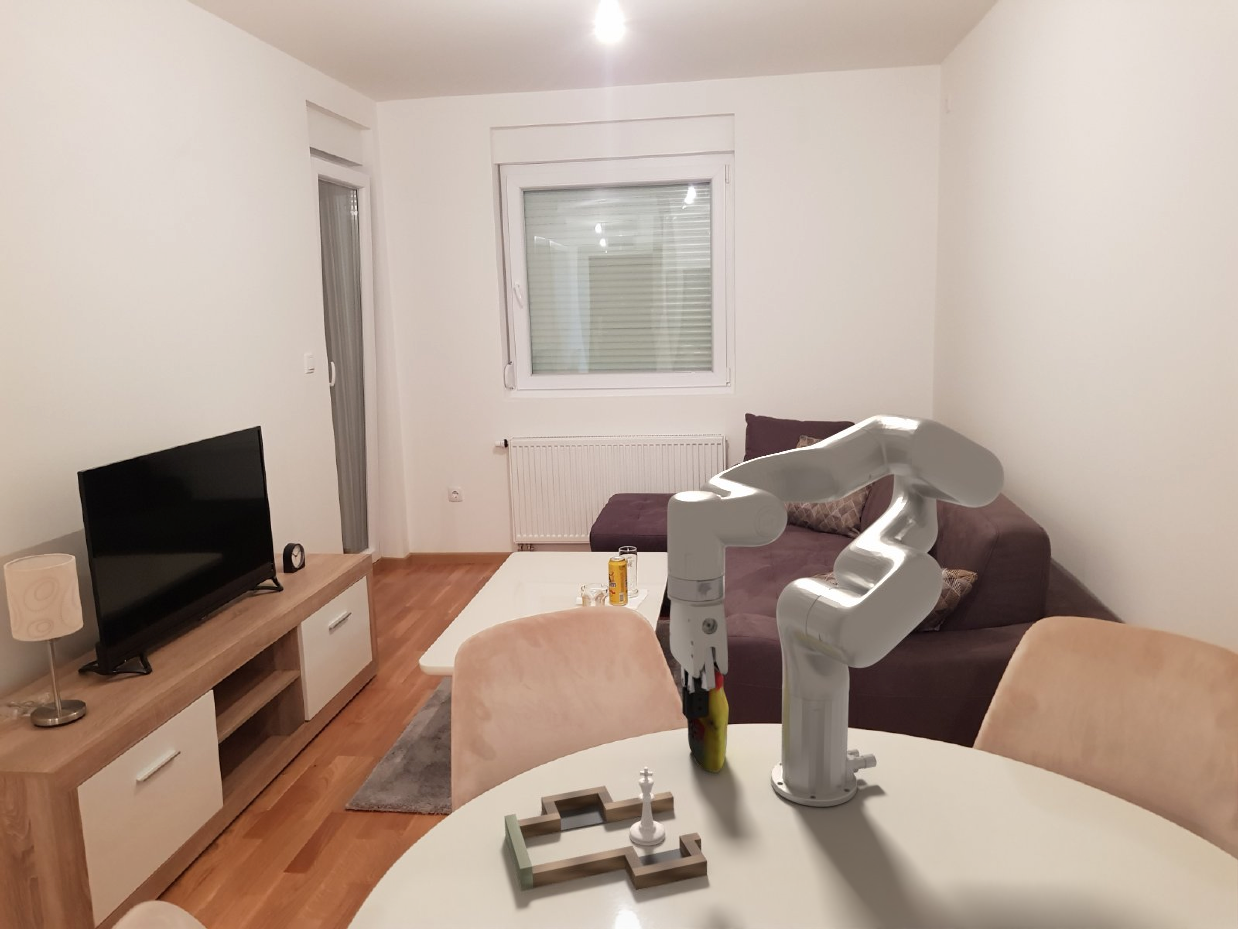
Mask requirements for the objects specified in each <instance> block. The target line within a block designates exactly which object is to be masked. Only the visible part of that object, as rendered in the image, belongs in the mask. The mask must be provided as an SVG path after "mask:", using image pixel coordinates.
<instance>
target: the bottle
mask: <svg viewBox="0 0 1238 929" xmlns="http://www.w3.org/2000/svg"><path fill="white" fill-rule="evenodd" d="M714 676H715V688H712V689H710V690H709V715H708V716H707V717H703V718H696V719H690V720H688V719H687V718H686V722H687V740H688V746H689V750H690V752H691V754H692V757H693V759H694V761H695V762H696V763H697V765H698V766H700V767H701V768H702V769H703V770H706V771H708V772H719V771H721V769H722V768H723V765H724V763H725V759H726V752H727V744H728V742H727V741H728V726H729V724H728V722H729V704H728V700H727V696H726V693H725V691H724V690H725V689H724V675H722V674H720V673H719V672H718V671H717V670H716V669H715V668H714Z"/></svg>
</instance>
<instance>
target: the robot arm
mask: <svg viewBox="0 0 1238 929" xmlns="http://www.w3.org/2000/svg"><path fill="white" fill-rule="evenodd" d="M890 475H893V491H892V496H891V501H890V504H889V506H888V508H886V510H885V511H884V513H883V514H881V515H880V517H879V518H877V519H876V520H875V521H874V522H872V524H870V525H869V527H867V528H866V529H865V530H864V531H863V532H862V533H860V534H859V535H858V536H857V537H856V538H855V539H853V541H851V542H850V543H849V544H848V545H847V546H845V548H843V550H842V551H841V552H840V553H839V555H838V556H837V558H836V560H835V561H834V564H833V576H834V579H835V581H836V583H837V584H838V585H836V584H835V583H831V582H829V581H827V580H824V579H820V578H816V577H800V578H797V579H795V580H793V581H791V582H789V583H788V584H787V585H785V587H784V588H783V590H782V591H781V593H780V595H779V597H778V599H777V604H776V613H775V614H776V615H775V616H776V624H777V630H778V636H779V642H780V647H781V658H782V659H781V660H782V683H781V684H782V685H781V690H782V692H781V695H782V697H781V761H779V762H778V763H777V764H775V765H774V767H772V769H771V771H770V772H771V773H770V784H771V786H772V788H773V789H774V791H775V792H776V793H778V794H779V796H781V797H782V798H784V799H787V800H788V801H790V802H793V803H796V804H800V805H803V806H808V807H818V808H819V807H820V808H821V807H824V808H826V807H834V806H839V805H841V804H844V803H847V802H848V801H850V800H852V798H853V797H854V796H855V795H856V794H857V790H858V779H857V777H856V774H855V773H858V772H859V771H860V770H861V769H862V770H863V769H865V770H866V769H870V768H871V769H872V768H875V767H877V763H878V762H877V759H876V756H875V755H874V753H868V754H862V755H860V753H859V750H858V749H857V748H855V749H854V748H853V749H849V750H848V739H849V738H848V737H849V736H848V735H849V734H848V733H849V731H848V730H849V693H850V692H849V691H850V671H849V670H850V669H849V667H851V668H857V669H861V668H862V669H863V668H867V667H870V666H873V665H874V664H876V663H877V662H879V661H880V660H881V659H883V658H884V657H885V656H887V654H889V653H890V652H891V651H892V650H893V649H894V648H895V647H896V646H897V645H898V644H899V643H900V642H902V640H903V639H905V637H907V636H908V635H909V634H910V633H911V632H913V630H914V629H915V628H917V626H919V625H920V623H922V622H923V621H924V619H926V617H927V616H929V615H930V613H931V612H932V610H934V609H935V606H936V605H937V603H938V601H939V599H940V597H941V594H942V591H943V586H944V575H943V571H942V568H941V565H940V564H939V563H938V561H937V560H936V559H935V558H934V557H933V556H931V555H930V554H929V553H928V552H929V551H931V549H932V547H933V546H934V545H935V543H936V541H937V537H938V533H939V531H938V530H939V525H938V515H937V514H938V512H937V500H938V501H943V502H947V503H951V504H955V505H959V506H963V507H966V508H980V507H985V506H987V505H989V504H991V503H992V502H993V501H995V500H996V499H997V498H998V496H999V495H1000V494H1001V492H1002V490H1003V486H1004V483H1005V482H1004V481H1005V471H1004V467H1003V465H1002V463H1001V460H1000V459H999V458H998V457H997V455H995V453H993V452H992V451H991V450H989V449H987V448H986V447H984V446H983V445H982V444H979V443H977V442H976V441H974V440H972V439H970V438H968V437H967V436H965V435H963V434H961V433H960V432H958V431H956V430H954V429H953V428H951V427H950V426H947V425H945V424H943V423H941V422H938V421H937V420H933V419H928V418H924V417H923V418H922V417H916V416H908V415H902V414H895V413H880V414H877V415H873V416H871V417H868V418H866V419H864V420H862V421H860V422H858V423H856V424H854V425H852V426H850V427H847V428H846V429H843V430H842V431H839V432H838V433H836V434H833V435H831V436H829V437H827V438H824V439H823V440H820V441H819V442H817V443H814V444H812V445H809V446H805V447H800V448H794V449H790V450H786V451H782V452H779V453H774V454H769V455H766V456H761V457H757V458H754V459H750V460H748V461H744V462H742V463H740V464H738V465H735V466H732V467H730V468H729V469H726V470H725V471H722V472H720V473H719V474H716V475H714V476H713V477H711V478H709V480H707V481H706V482H705V483H704V484H703V485H702V486H701V487H700V488H699V490H686V491H682V492H677V493H676V494H673V495H672V496H671V497H670V498H669V500H668V503H667V513H666V514H667V515H666V516H667V517H666V519H667V522H666V523H667V524H666V525H667V527H666V528H667V533H666V536H667V538H666V539H667V542H666V543H667V551H666V552H667V554H666V556H667V598H668V599H669V600H670V609H669V610H670V612H669V650H670V652H671V656H673V657H674V659H675V660H676V661H677V662H678V663H679V665H680V676H681V678H680V679H681V685H682V693H681V696H682V701H681V702H682V703H681V704H682V712H681V713H682V714H683V716H684V717H685V718H686V720H687V719H688V720H690V719H696V718H703V717H707V716H708V715H709V690H710V689H712V688H715V676H714V668H715V669H716V670H717V671H718V672H719V673H720V674H722V675H723V676H724V675H726V674H727V673H728V670H729V668H728V667H729V662H728V660H729V658H728V656H729V653H728V634H727V633H728V632H727V631H728V630H727V619H726V612H725V606H724V602H723V601H724V600H725V596H726V593H725V592H726V590H725V589H726V585H725V584H726V583H725V582H726V548H728V547H749V548H750V547H761V546H762V547H763V546H765V545H769V544H771V543H773V542H775V541H776V540H777V539H778V538H780V537H781V535H782V534H783V533H784V531H785V529H786V526H787V523H788V511H787V508H786V507H785V505H784V504H787V503H788V504H789V503H797V504H798V503H805V504H818V503H819V504H820V503H829V502H837V501H839V500H841V499H844V498H846V497H848V496H849V495H851V494H853V493H855V492H857V491H858V490H861V489H862V488H864V487H867V486H868V485H870V484H872V483H874V482H876V481H878V480H880V479H883V478H884V477H887V476H890Z"/></svg>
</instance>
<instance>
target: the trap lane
mask: <svg viewBox="0 0 1238 929" xmlns="http://www.w3.org/2000/svg"><path fill="white" fill-rule="evenodd" d="M653 795H654V800H653V801H652V802H650V804H651V811H652V815H653V814H654V815H655V814H659V813H664V812H669V811H674V810H675V801H674V800H675V797H674V795H673V794H672V792H671V791H666V792H661V793H654V794H653ZM540 801H541V812H542V815H538V816H533V817H526V818H522V819H518V818H517V815H516V814H515V813H513V814H507V815H504V828H505V829H504V832H505V839H506V842H507V845H508V849H509V853H510V857H511V860H512V862H513V866H514V867H513V868H514V870H515V873H516V876H517V879H518V880H517V881H518V883H519V886H520V891H526V890H531V889H536V888H540V887H545V886H550V885H554V884H559V883H564V882H569V881H573V880H578V879H582V878H588V877H592V876H596V875H601V874H605V873H606V874H607V873H610V872H611V873H612V872H616V871H620V870H625V871H626V873H627V876H628V878H629V879H630V882H631V883H632V884H631V885H632V886H633V888H634V889H635V891H640V890H645V889H648V888H654V887H659V886H662V885H668V884H672V883H676V882H680V881H681V882H682V881H685V880H691V879H695V878H700V877H705V876H707V875H708V860H707V858H706V857H705V855H704V854H703V852H702V838H701V836H700V835H699V833H698V832H693V833H688V834H683V835H679V837H678V840H679V841H678V842H679V843H678V844H679V847H678V848H675V849H670V850H665V851H659V852H655V853H650V854H647V855H640V856H639V855H638V854H637V851H636V850H635V848H634V846H633V845H630V846H629V845H628V846H624V847H619V848H614V849H609V850H604V851H599V852H595V853H591V854H586V855H585V854H584V855H580V856H575V857H570V858H565V859H561V860H556V861H550V862H545V863H542V864H541V863H540V864H536V865H535V864H534V865H532V861H531V859H530V855H529V851H528V848H527V845H526V842H525V840H526V839H529V838H535V837H540V836H546V835H551V834H555V833H562V832H565V831H571V830H576V829H581V828H582V829H583V828H587V827H592V826H597V825H602V824H608V823H612V822H619V821H623V820H627V819H631V818H633V819H634V818H638V817H642V809H643V802H641V801H640V800H639V796H638V797H633V798H628V799H623V800H622V799H621V800H618V801H617V800H616V801H614V800H613V798H612V796H611V795H610V792H609V791H608V789H607V787H606V785H602V786H597V787H592V788H585V789H579V790H575V791H573V790H572V791H569V792H564V793H558V794H552V795H547V796H542V797H541V798H540ZM524 839H525V840H524Z"/></svg>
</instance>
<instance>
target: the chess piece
mask: <svg viewBox="0 0 1238 929" xmlns="http://www.w3.org/2000/svg"><path fill="white" fill-rule="evenodd" d="M639 776H644V777H641V778H639V780H638V785H639V787H640V789H641V793H639V795H638V797H639V800H640V801H641V802H643V809H642V816H641V819H640V821H636V822H635V823H633V824H631V827H630V829H629V834H628V836H629V839H630V840H631V841H632V843H633V842H634V844H637V845H639V846H643V847H644V846H646V847H647V846H648V847H649V846H655V845H658V844H660V843H661V842H663V841H664V840H665V838H666V832H665V827H664V826H663V824H661V823H660V822H658V821H655V820H654V819H653V818H654V817H653V814H652V811H651V804H650V802H652V801H653V800H654V794H653V793H652V790H653V789H652V788H653V787H654V783H655V781H654V779H653V778H652V777H653V771H649V767H648V766H644V768H643V770H639Z"/></svg>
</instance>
